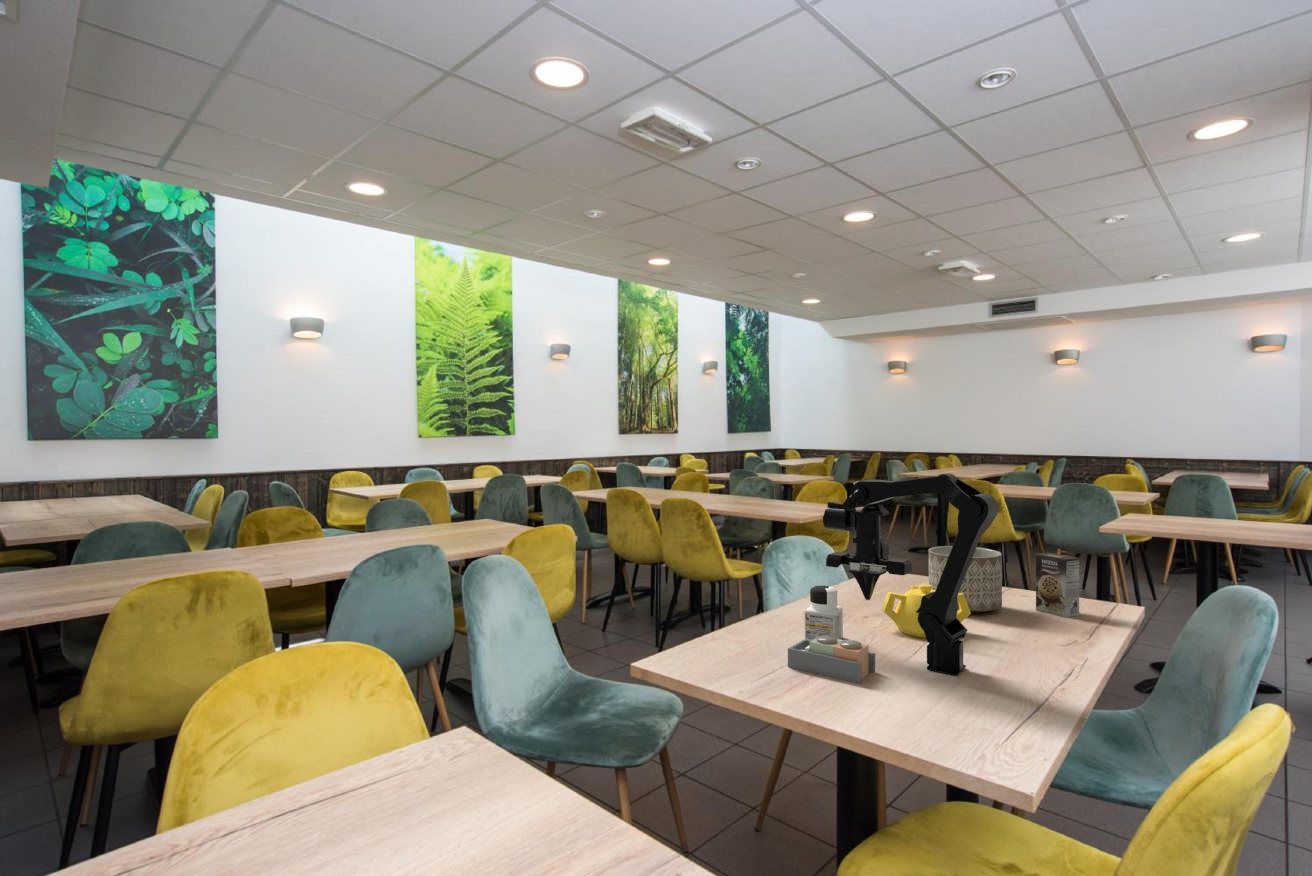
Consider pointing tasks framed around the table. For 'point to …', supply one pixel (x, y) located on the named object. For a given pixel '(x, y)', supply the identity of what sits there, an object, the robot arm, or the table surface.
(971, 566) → the planter
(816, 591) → the container
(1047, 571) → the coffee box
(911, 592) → the teapot
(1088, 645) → the table surface
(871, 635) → the table surface
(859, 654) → the orange block with dome
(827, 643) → the sage jar
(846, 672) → the lane
